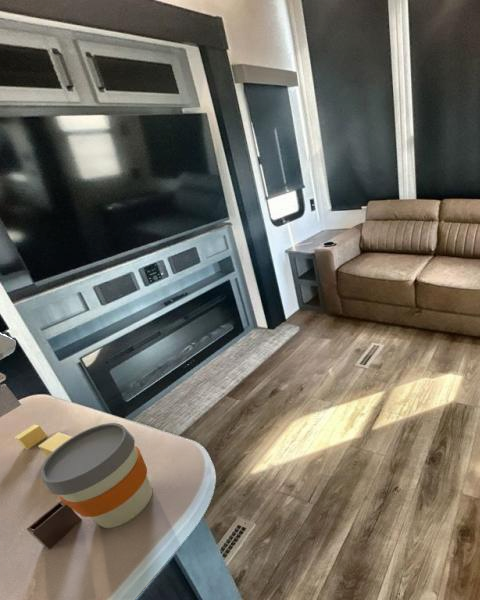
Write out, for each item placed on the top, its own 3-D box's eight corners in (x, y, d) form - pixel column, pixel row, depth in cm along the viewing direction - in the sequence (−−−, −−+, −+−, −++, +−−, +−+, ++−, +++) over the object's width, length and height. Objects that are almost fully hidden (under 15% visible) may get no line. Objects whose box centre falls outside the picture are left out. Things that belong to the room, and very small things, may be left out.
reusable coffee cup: (177, 482, 72) (143, 428, 65) (116, 548, 62) (68, 492, 55) (134, 468, 76) (98, 416, 69) (70, 527, 66) (20, 473, 59)
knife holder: (49, 549, 63) (32, 532, 60) (42, 545, 63) (25, 529, 61) (81, 520, 67) (67, 503, 65) (75, 516, 68) (60, 500, 65)
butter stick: (84, 449, 83) (76, 438, 81) (65, 464, 79) (56, 453, 78) (66, 442, 85) (58, 432, 84) (46, 456, 82) (37, 445, 80)
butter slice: (47, 436, 88) (39, 425, 86) (28, 449, 85) (19, 439, 83) (43, 434, 88) (34, 424, 87) (23, 447, 85) (14, 437, 84)
